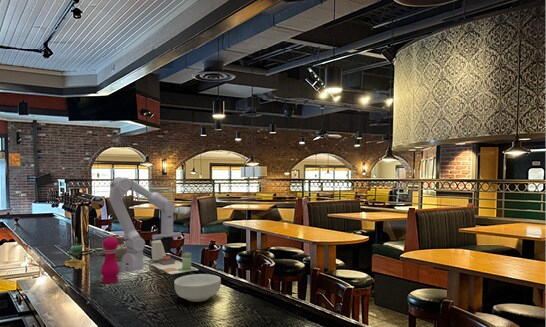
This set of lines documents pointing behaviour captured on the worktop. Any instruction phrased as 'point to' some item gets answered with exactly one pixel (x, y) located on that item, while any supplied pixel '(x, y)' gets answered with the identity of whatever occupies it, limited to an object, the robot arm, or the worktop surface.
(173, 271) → the picture board
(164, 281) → the worktop surface
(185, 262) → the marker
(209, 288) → the cereal bowl
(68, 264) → the frog figurine
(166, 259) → the button
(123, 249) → the pottery
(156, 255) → the white cup
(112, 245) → the pepper mill
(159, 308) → the worktop surface
